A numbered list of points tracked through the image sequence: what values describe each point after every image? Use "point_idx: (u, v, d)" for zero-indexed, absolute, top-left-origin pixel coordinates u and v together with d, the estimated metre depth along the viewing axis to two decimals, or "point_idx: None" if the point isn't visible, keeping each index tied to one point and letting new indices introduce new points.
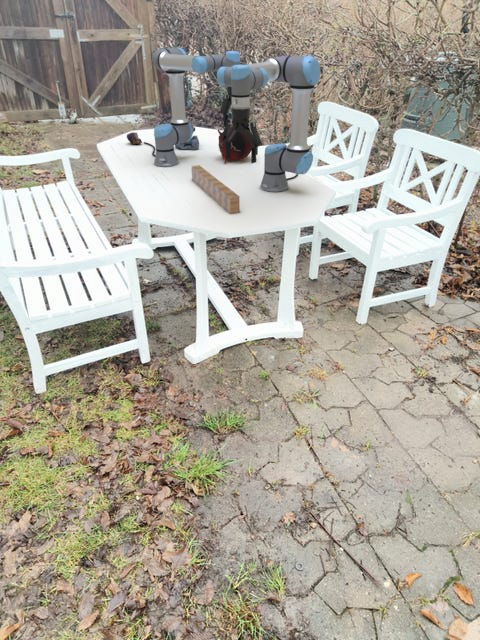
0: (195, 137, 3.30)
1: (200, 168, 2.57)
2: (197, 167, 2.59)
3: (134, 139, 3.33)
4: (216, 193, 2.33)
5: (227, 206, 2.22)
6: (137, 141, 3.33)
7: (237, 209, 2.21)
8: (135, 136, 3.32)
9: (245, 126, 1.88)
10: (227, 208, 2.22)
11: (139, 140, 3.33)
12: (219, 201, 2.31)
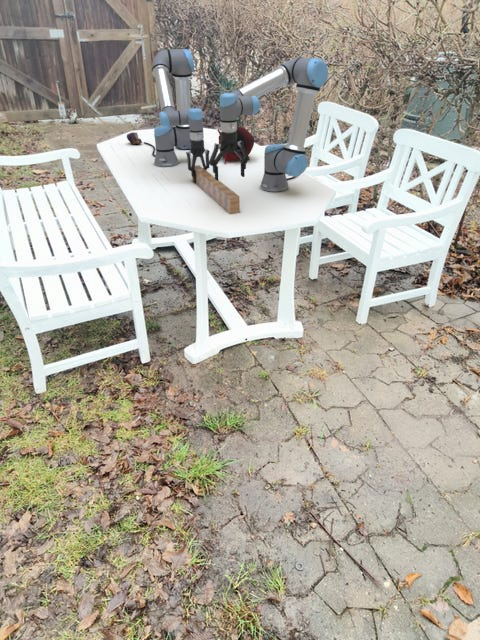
0: None
1: (200, 168, 2.57)
2: (197, 167, 2.59)
3: (134, 139, 3.33)
4: (216, 193, 2.33)
5: (227, 206, 2.22)
6: (137, 141, 3.33)
7: (237, 209, 2.21)
8: (135, 136, 3.32)
9: (236, 146, 2.09)
10: (227, 208, 2.22)
11: (139, 140, 3.33)
12: (219, 201, 2.31)
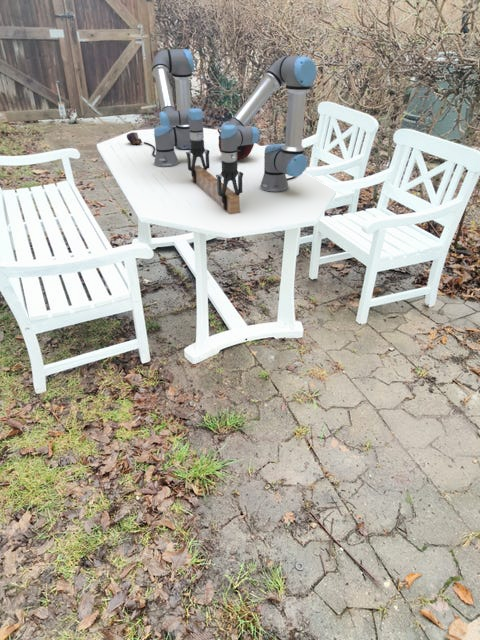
0: None
1: (200, 168, 2.57)
2: (197, 167, 2.59)
3: (134, 139, 3.33)
4: (216, 193, 2.33)
5: (227, 206, 2.22)
6: (137, 141, 3.33)
7: (237, 209, 2.21)
8: (135, 136, 3.32)
9: (236, 174, 2.17)
10: (227, 208, 2.22)
11: (139, 140, 3.33)
12: (219, 201, 2.31)
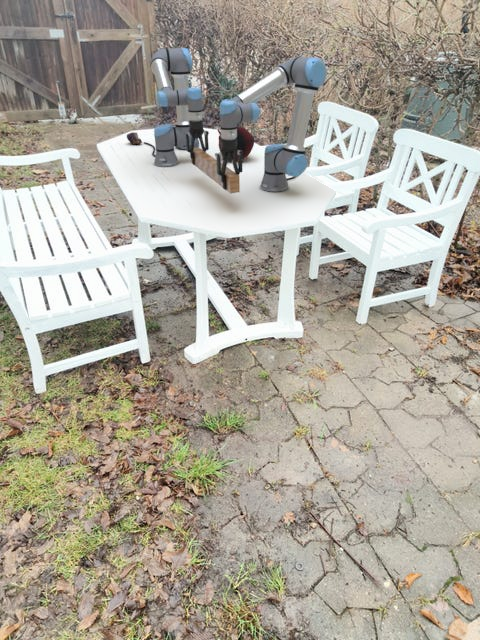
0: None
1: (199, 150, 2.52)
2: (196, 149, 2.53)
3: (134, 139, 3.33)
4: (215, 174, 2.27)
5: (227, 186, 2.17)
6: (137, 141, 3.33)
7: (237, 188, 2.16)
8: (135, 136, 3.32)
9: (236, 153, 2.11)
10: (227, 188, 2.17)
11: (139, 140, 3.33)
12: (219, 181, 2.25)
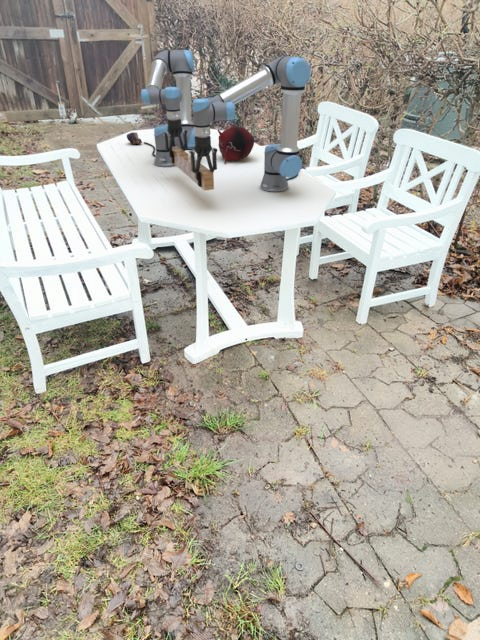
0: None
1: (178, 149, 2.54)
2: (175, 148, 2.56)
3: (134, 139, 3.33)
4: (191, 172, 2.30)
5: (201, 183, 2.19)
6: (137, 141, 3.33)
7: (211, 185, 2.18)
8: (135, 136, 3.32)
9: (210, 150, 2.13)
10: (202, 185, 2.19)
11: (139, 140, 3.33)
12: (194, 179, 2.28)
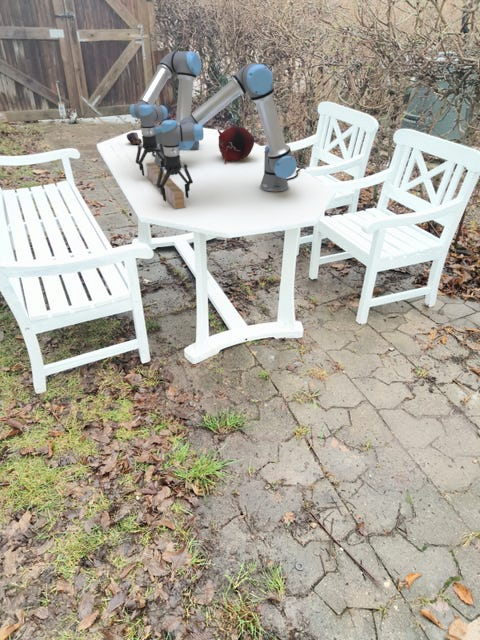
0: None
1: (154, 165, 2.63)
2: (151, 164, 2.65)
3: (134, 139, 3.33)
4: None
5: (172, 202, 2.28)
6: (137, 141, 3.33)
7: (182, 204, 2.27)
8: (135, 136, 3.32)
9: (180, 168, 2.22)
10: (173, 203, 2.28)
11: (139, 140, 3.33)
12: (167, 197, 2.37)
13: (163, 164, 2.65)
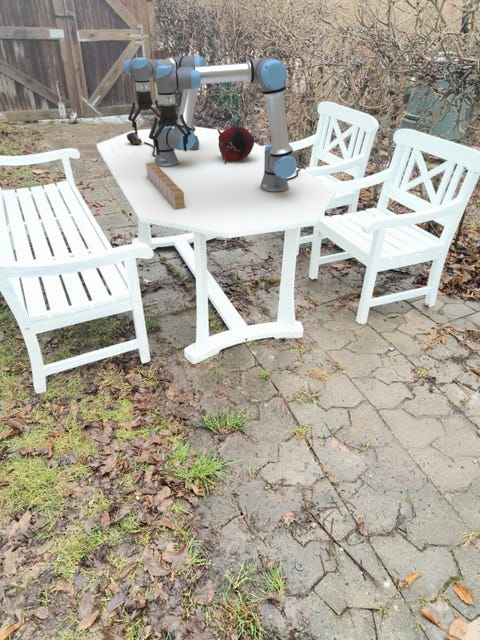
0: (195, 137, 3.30)
1: (154, 165, 2.63)
2: (151, 164, 2.65)
3: (134, 139, 3.33)
4: (164, 189, 2.39)
5: (172, 202, 2.28)
6: (137, 141, 3.33)
7: (182, 204, 2.27)
8: (135, 136, 3.32)
9: (176, 120, 2.09)
10: (173, 203, 2.28)
11: (139, 140, 3.33)
12: (167, 197, 2.37)
13: (160, 122, 2.52)
